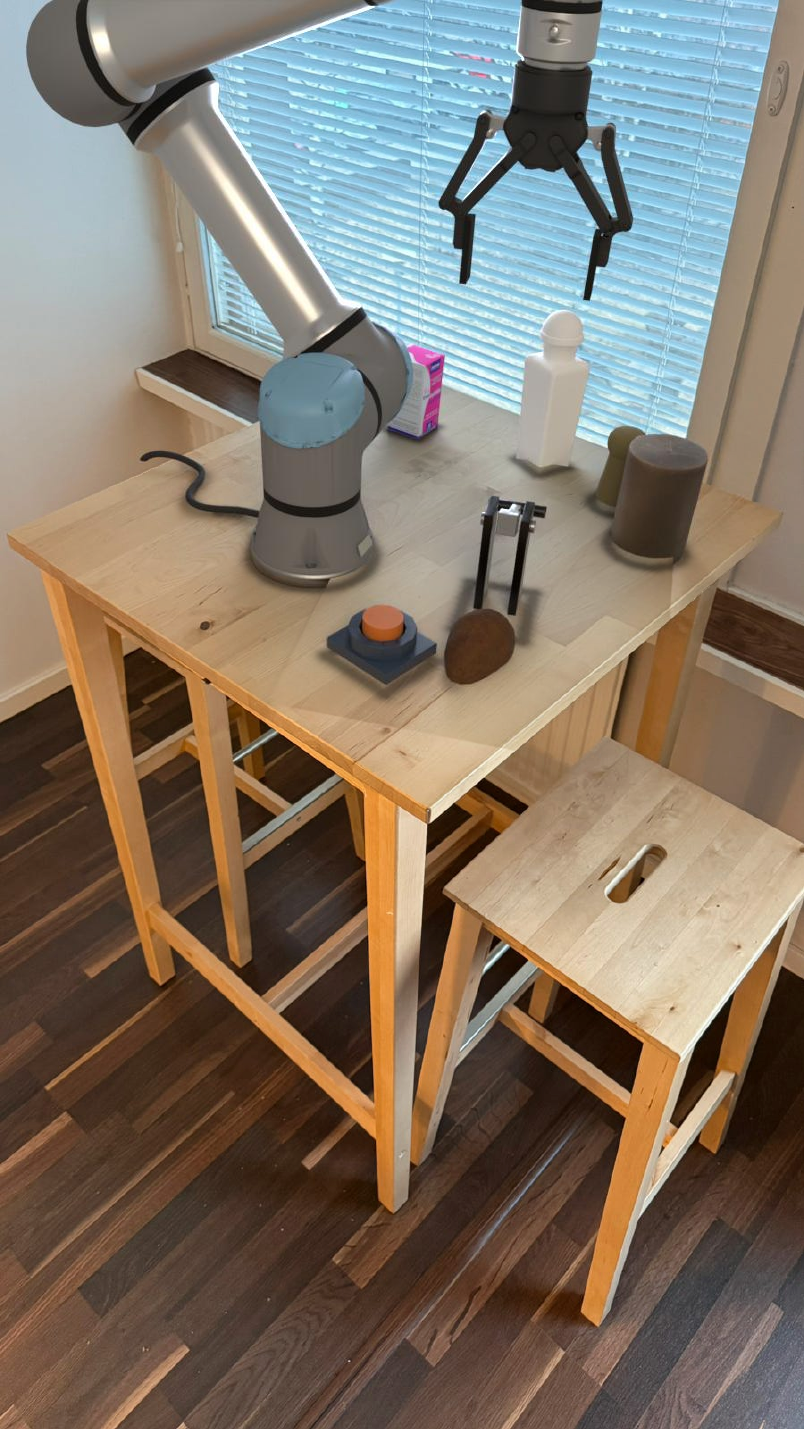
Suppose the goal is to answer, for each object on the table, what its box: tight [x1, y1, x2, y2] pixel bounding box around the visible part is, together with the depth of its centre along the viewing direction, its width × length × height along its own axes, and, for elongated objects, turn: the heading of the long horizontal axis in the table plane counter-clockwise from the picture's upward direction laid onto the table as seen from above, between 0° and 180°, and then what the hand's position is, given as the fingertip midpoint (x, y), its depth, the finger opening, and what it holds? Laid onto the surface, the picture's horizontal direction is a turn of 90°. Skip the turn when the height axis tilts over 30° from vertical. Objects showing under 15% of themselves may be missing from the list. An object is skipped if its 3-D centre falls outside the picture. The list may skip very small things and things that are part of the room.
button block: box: [326, 608, 438, 686], centre depth 112 cm, size 9×8×4 cm
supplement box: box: [386, 344, 446, 440], centre depth 152 cm, size 6×6×12 cm
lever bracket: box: [472, 495, 537, 617], centre depth 117 cm, size 10×8×14 cm
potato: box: [443, 608, 516, 686], centre depth 111 cm, size 7×10×7 cm
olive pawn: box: [594, 425, 647, 507], centre depth 138 cm, size 6×6×11 cm
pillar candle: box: [609, 433, 709, 564], centre depth 128 cm, size 10×10×15 cm
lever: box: [487, 497, 548, 538], centre depth 118 cm, size 13×7×2 cm, turn 168°
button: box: [362, 604, 404, 642], centre depth 110 cm, size 4×4×2 cm
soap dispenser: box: [516, 309, 591, 468], centre depth 142 cm, size 6×6×22 cm
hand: (525, 288), depth 112 cm, fingers open, 13 cm apart
